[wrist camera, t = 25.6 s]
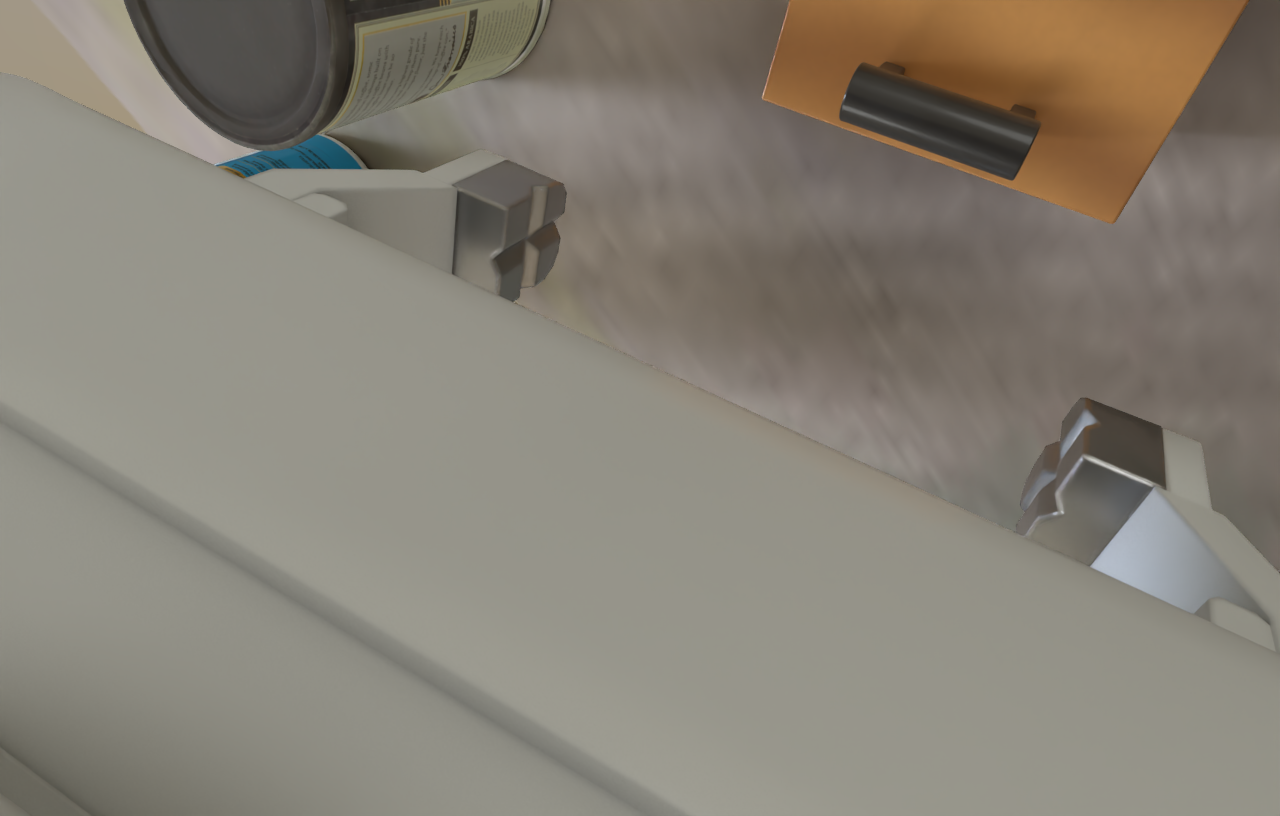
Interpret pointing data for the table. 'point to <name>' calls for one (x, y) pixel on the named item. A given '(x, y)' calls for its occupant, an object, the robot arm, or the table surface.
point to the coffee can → (325, 57)
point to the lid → (1006, 83)
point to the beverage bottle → (296, 158)
